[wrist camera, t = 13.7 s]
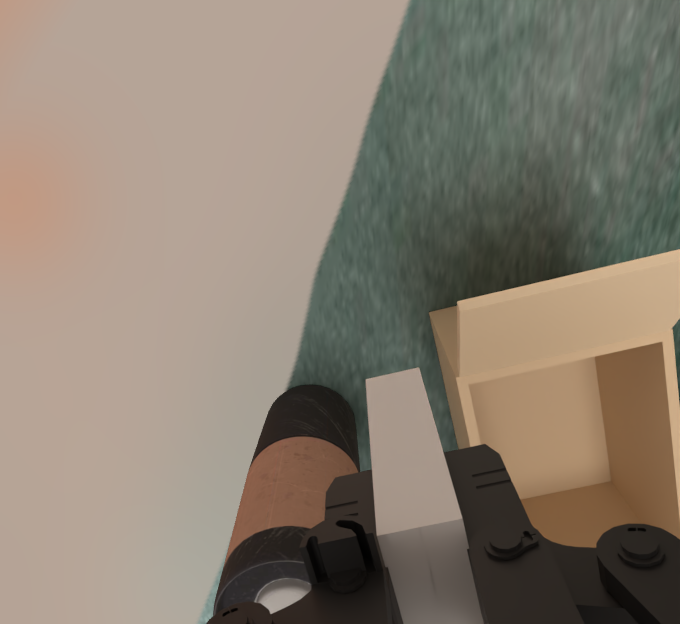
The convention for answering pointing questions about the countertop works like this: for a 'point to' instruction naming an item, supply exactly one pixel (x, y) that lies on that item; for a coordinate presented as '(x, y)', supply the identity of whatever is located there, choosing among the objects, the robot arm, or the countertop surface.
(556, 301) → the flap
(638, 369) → the carton
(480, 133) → the countertop surface
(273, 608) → the travel mug
